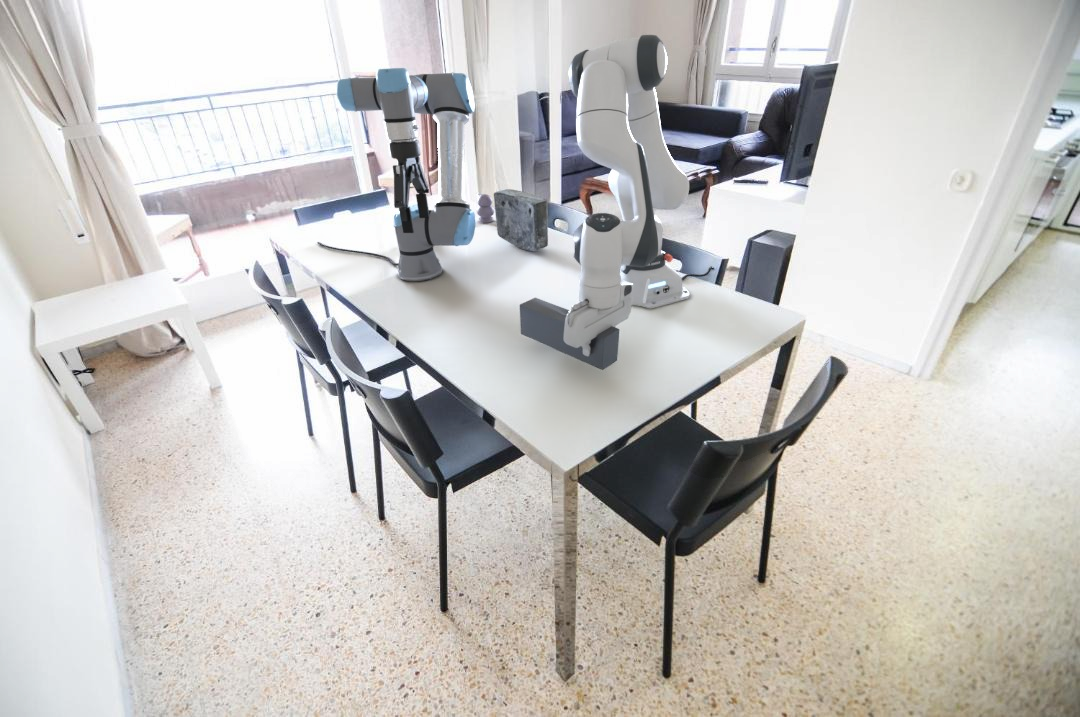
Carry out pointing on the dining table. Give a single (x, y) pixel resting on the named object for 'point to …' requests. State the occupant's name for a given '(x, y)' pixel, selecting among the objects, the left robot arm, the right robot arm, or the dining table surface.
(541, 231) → the concrete block
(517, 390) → the dining table surface
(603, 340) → the bar
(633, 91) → the right robot arm
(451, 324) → the dining table surface
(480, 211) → the purple stacked rounded piece
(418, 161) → the left robot arm
